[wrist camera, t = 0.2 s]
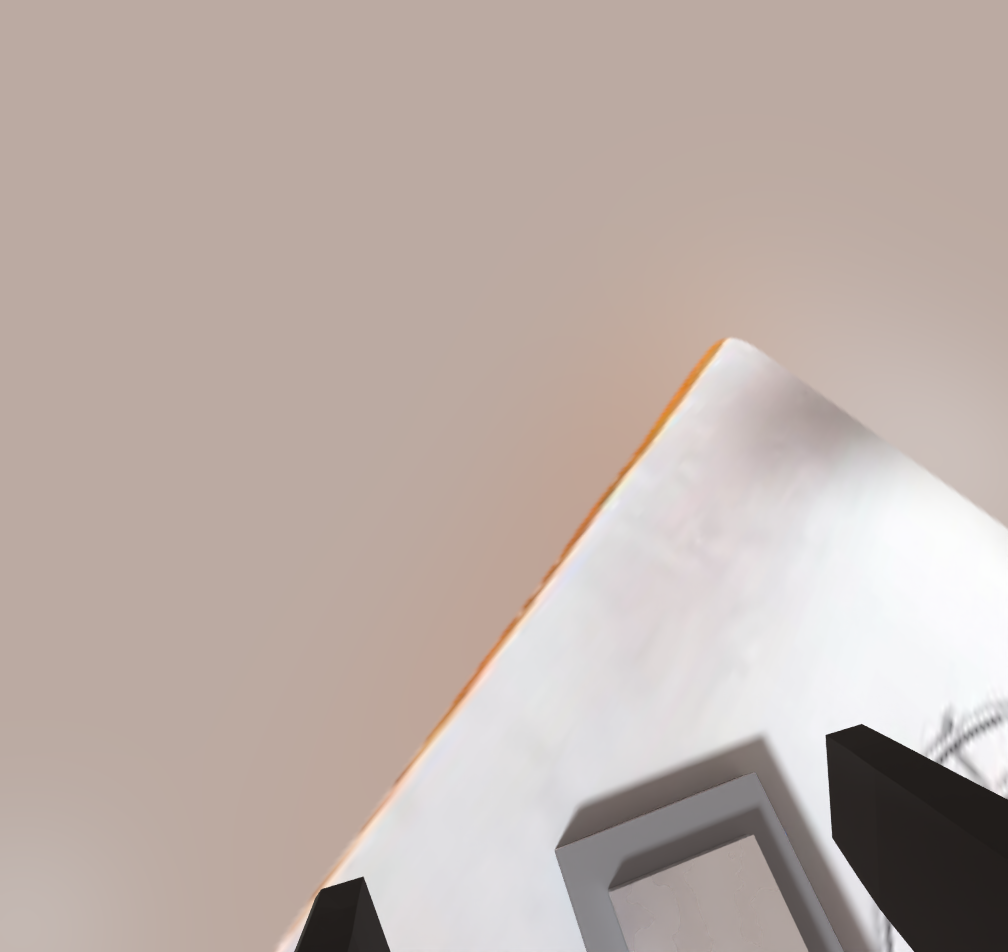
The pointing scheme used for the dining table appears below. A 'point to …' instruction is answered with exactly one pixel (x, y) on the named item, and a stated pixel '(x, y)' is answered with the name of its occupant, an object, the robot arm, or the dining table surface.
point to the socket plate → (679, 837)
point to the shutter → (708, 905)
